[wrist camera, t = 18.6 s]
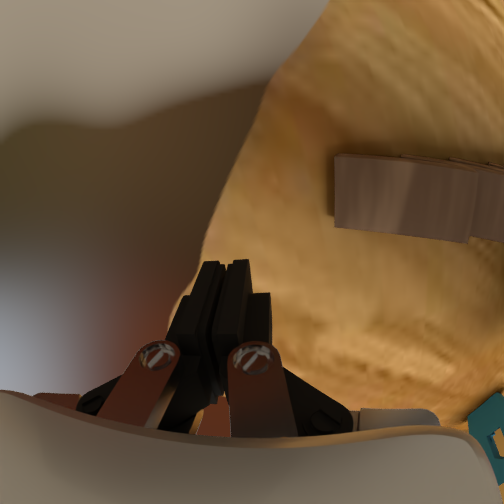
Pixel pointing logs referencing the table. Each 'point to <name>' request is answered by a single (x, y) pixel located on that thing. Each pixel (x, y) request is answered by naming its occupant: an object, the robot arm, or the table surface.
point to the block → (489, 431)
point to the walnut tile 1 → (404, 196)
